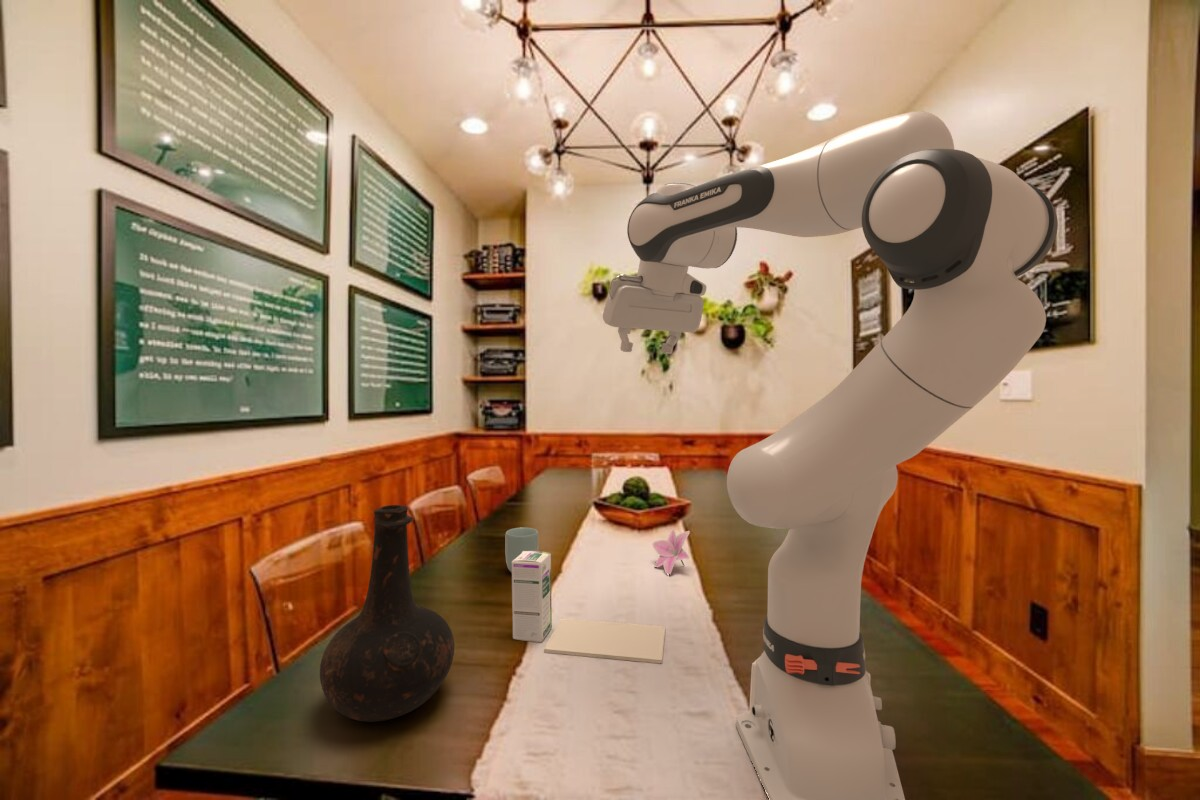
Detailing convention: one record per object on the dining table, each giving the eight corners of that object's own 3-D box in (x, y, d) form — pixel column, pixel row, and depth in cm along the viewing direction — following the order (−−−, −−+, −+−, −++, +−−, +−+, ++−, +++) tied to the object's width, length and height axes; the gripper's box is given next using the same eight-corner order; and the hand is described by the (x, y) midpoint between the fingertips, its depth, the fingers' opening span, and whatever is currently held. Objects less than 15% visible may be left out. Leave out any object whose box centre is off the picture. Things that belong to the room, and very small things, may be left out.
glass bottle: (325, 763, 62) (323, 531, 61) (316, 688, 77) (314, 502, 76) (470, 713, 71) (470, 512, 71) (437, 656, 86) (436, 490, 86)
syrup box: (542, 643, 91) (542, 561, 91) (511, 639, 92) (511, 559, 92) (552, 628, 97) (552, 551, 96) (522, 625, 98) (522, 549, 97)
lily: (652, 563, 136) (640, 535, 133) (693, 545, 136) (682, 517, 133) (664, 594, 125) (651, 564, 121) (708, 575, 125) (697, 545, 121)
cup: (544, 570, 127) (544, 530, 127) (523, 580, 121) (523, 537, 120) (520, 564, 131) (520, 525, 131) (498, 573, 125) (498, 532, 125)
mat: (662, 663, 84) (662, 660, 84) (544, 652, 88) (544, 648, 88) (665, 629, 96) (665, 626, 96) (561, 621, 100) (561, 617, 100)
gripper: (622, 275, 86) (607, 354, 90) (713, 287, 97) (697, 358, 101) (603, 269, 91) (591, 345, 95) (692, 282, 102) (677, 350, 106)
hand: (646, 352), depth 98 cm, fingers open, 8 cm apart
